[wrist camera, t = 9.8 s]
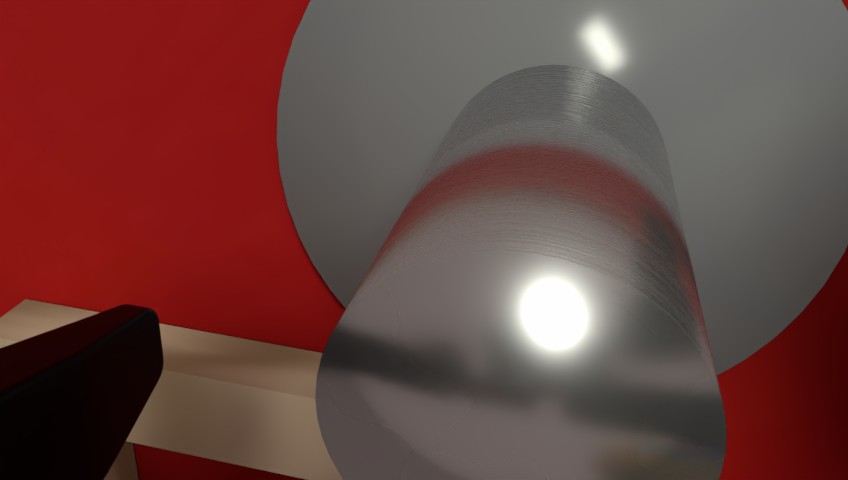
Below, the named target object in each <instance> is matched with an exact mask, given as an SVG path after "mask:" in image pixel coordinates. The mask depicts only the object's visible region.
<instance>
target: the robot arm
mask: <svg viewBox="0 0 848 480" xmlns="http://www.w3.org/2000/svg"><path fill="white" fill-rule="evenodd" d="M163 365H164V357H163V349H162V341H161V333H160V325H159V319H158V316H157V314H156V312H155V311H154V310H152V309H151V308H146V307H140V306H135V305H128V304H125V305H120V306H117V307H115V308H112V309H109V310H106V311H103V312H101V313H98V314H95V315H92V316H89V317H87V318H84V319H81V320H78V321H75V322H73V323H70V324H67V325H64V326H61V327H59V328H56V329H53V330H50V331H47V332H45V333H42V334H39V335H36V336H33V337H31V338H28V339H25V340H22V341H19V342H16V343H14V344H11V345H8V346H5V347H2V348H0V480H104V478H105V477H106V475H107V474H108V472H109V470H110V469H111V467H112V465H113V463H114V462H115V460H116V458H117V456H118V455H119V453H120V451H121V449H122V447H123V445H124V444H125V442H126V440H127V438H128V436H129V434H130V433H131V431H132V429H133V427H134V425H135V423H136V422H137V420H138V418H139V416H140V414H141V412H142V411H143V409H144V407H145V405H146V403H147V401H148V400H149V398H150V396H151V394H152V392H153V390H154V388H155V387H156V385H157V383H158V381H159V379H160V377H161V374H162V371H163Z"/></svg>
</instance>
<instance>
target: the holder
mask: <svg viewBox="0 0 848 480" xmlns="http://www.w3.org/2000/svg"><path fill="white" fill-rule="evenodd" d="M98 313H99V312H94V311H88V310H83V309H77V308H72V307H66V306H61V305H55V304H50V303H44V302H39V301H33V300H28V299H25V300H24V301H22V302H21V303H20V304H18V305H17V306H16V307H14V308H13V309H12V310H10V311H9V312H8V313H6V314H5V315H4V316H2V317H1V318H0V348H2V347H5V346H8V345H11V344H14V343H16V342H19V341H22V340H25V339H28V338H31V337H33V336H36V335H39V334H42V333H45V332H47V331H50V330H53V329H56V328H59V327H61V326H64V325H67V324H70V323H73V322H75V321H78V320H81V319H84V318H87V317H89V316H92V315H95V314H98ZM159 325H160V333H161V341H162V349H163V357H164V365H163V371H162V374H161V377H160V379H159V381H158V383H157V385H156V387H155V388H154V390H153V392H152V394H151V396H150V398H149V400H148V401H147V403H146V405H145V407H144V409H143V411H142V412H141V414H140V416H139V418H138V420H137V422H136V423H135V425H134V427H133V429H132V431H131V433H130V434H129V436H128V438H127V440H126V442H125V444H124V445H123V447H122V449H121V451H120V453H119V455H118V456H117V458H116V460H115V462H114V463H113V465H112V467H111V469H110V470H109V472H108V474H107V475H106V477H105V478H104V480H139V478H138V472H137V466H136V460H135V453H134V447H133V443H136V444H141V445H146V446H151V447H155V448H160V449H165V450H169V451H174V452H179V453H184V454H188V455H193V456H198V457H202V458H207V459H212V460H217V461H221V462H226V463H231V464H235V465H240V466H245V467H250V468H254V469H259V470H264V471H268V472H273V473H278V474H283V475H287V476H292V477H297V478H301V479H306V480H343V478H342V477H341V475H340V474H339V472H338V470H337V469H336V467H335V465H334V463H333V461H332V460H331V458H330V456H329V454H328V451H327V449H326V446H325V443H324V441H323V438H322V435H321V431H320V427H319V423H318V419H317V411H316V400H315V393H316V379H317V373H318V369H319V365H320V360H321V357H322V354H323V353H319V352H314V351H308V350H303V349H297V348H292V347H286V346H281V345H275V344H270V343H264V342H259V341H253V340H248V339H242V338H237V337H231V336H226V335H220V334H215V333H209V332H204V331H198V330H193V329H187V328H182V327H176V326H171V325H165V324H160V323H159Z"/></svg>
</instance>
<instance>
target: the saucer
mask: <svg viewBox="0 0 848 480" xmlns="http://www.w3.org/2000/svg"><path fill="white" fill-rule="evenodd" d="M543 65H568V66H574V67H580V68H585V69H588V70H591V71H594V72H597V73H600V74H602V75H604V76H606V77H608V78H611V79H613V80H614V81H616V82H617V83H619V84H620V85H622V86H624V87H625V88H626V89H628V90H629V91H630V92H631V93H632V94H633V95H635V96H636V97H637V98H638V99H639V100H640V101H641V103H642V104H643V105H644V106H645V107H646V108H647V109H648V111H649V112H650V114H651V115H652V117H653V119H654V120H655V122H656V124H657V126H658V128H659V130H660V132H661V134H662V137H663V141H664V144H665V148H666V152H667V156H668V160H669V165H670V169H671V174H672V178H673V183H674V187H675V192H676V196H677V201H678V205H679V210H680V214H681V219H682V223H683V228H684V232H685V236H686V241H687V245H688V250H689V254H690V259H691V263H692V268H693V272H694V277H695V281H696V286H697V290H698V295H699V299H700V304H701V308H702V312H703V317H704V321H705V326H706V330H707V335H708V339H709V344H710V348H711V353H712V357H713V362H714V366H715V371H716V375H719V374H720V373H722V372H724V371H726V370H728V369H729V368H731V367H733V366H735V365H736V364H738V363H740V362H742V361H743V360H745V359H747V358H748V357H749V356H751V355H752V354H753V353H755V352H756V351H758V350H759V349H760V348H762V347H763V346H764V345H766V344H767V343H768V342H770V341H771V340H773V339H774V338H775V337H776V336H777V335H778V334H779V333H780V332H781V331H783V330H784V329H785V328H786V327H787V326H788V325H789V324H790V323H791V322H792V321H793V320H794V319H795V318H796V317H797V316H798V315H800V314H801V312H802V311H803V310H804V309H805V308H806V306H807V305H808V304H809V303H810V302H811V300H812V299H813V298H814V297H815V295H816V294H817V293H818V292H819V291H820V289H821V288H822V287H823V286H824V284H825V283H826V281H827V280H828V278H829V276H830V275H831V273H832V272H833V270H834V268H835V267H836V265H837V264H838V262H839V260H840V259H841V257H842V256H843V254H844V252H845V250H846V248H847V245H848V11H847V9H846V7H845V6H844V4H843V2H842V0H311V1H310V3H309V5H308V7H307V9H306V12H305V14H304V16H303V18H302V20H301V22H300V25H299V27H298V29H297V31H296V33H295V35H294V38H293V41H292V45H291V48H290V51H289V55H288V58H287V61H286V64H285V68H284V71H283V77H282V83H281V89H280V95H279V102H278V116H277V147H278V157H279V167H280V175H281V179H282V183H283V188H284V192H285V196H286V201H287V205H288V208H289V211H290V213H291V216H292V219H293V222H294V224H295V227H296V230H297V233H298V235H299V237H300V239H301V241H302V243H303V245H304V247H305V249H306V251H307V253H308V255H309V257H310V259H311V261H312V263H313V265H314V266H315V268H316V269H317V271H318V272H319V274H320V275H321V277H322V278H323V280H324V281H325V283H326V284H327V286H328V287H329V289H330V290H331V292H332V293H333V294H334V295H335V296H336V298H337V299H338V300H339V301H340V302H341V304H342V305H343V306H344V307H345V308H347V307H348V305H349V303H350V301H351V300H352V298H353V296H354V294H355V293H356V291H357V289H358V287H359V286H360V284H361V282H362V281H363V279H364V277H365V275H366V274H367V272H368V270H369V268H370V267H371V265H372V263H373V262H374V260H375V258H376V256H377V255H378V253H379V251H380V249H381V248H382V246H383V244H384V243H385V241H386V239H387V237H388V236H389V234H390V232H391V230H392V229H393V227H394V225H395V224H396V222H397V220H398V218H399V217H400V215H401V213H402V211H403V210H404V208H405V206H406V205H407V203H408V201H409V199H410V198H411V196H412V194H413V192H414V191H415V189H416V187H417V186H418V184H419V182H420V180H421V179H422V177H423V175H424V173H425V172H426V170H427V168H428V166H429V165H430V163H431V161H432V160H433V158H434V156H435V154H436V153H437V151H438V149H439V147H440V146H441V144H442V142H443V141H444V139H445V137H446V135H447V134H448V132H449V130H450V128H451V127H452V125H453V123H454V122H455V120H456V118H457V117H458V115H459V114H460V112H461V110H462V109H463V108H464V107H465V106H466V104H467V103H468V102H469V101H470V100H471V99H472V98H473V97H474V96H475V95H476V94H477V93H478V92H479V91H481V90H482V89H483V88H485V87H486V86H488V85H489V84H490V83H492V82H493V81H495V80H497V79H499V78H501V77H503V76H505V75H507V74H510V73H513V72H515V71H518V70H521V69H525V68H530V67H534V66H543Z"/></svg>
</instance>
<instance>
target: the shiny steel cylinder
mask: <svg viewBox="0 0 848 480" xmlns="http://www.w3.org/2000/svg"><path fill="white" fill-rule="evenodd" d="M315 400H316V411H317V419H318V423H319V427H320V431H321V435H322V438H323V441H324V443H325V446H326V449H327V451H328V454H329V456H330V458H331V460H332V461H333V463H334V465H335V467H336V469H337V470H338V472H339V474H340V475H341V477H342V478H343V480H718V479H719V477H720V475H721V471H722V466H723V462H724V458H725V453H726V435H727V429H726V421H725V413H724V406H723V402H722V397H721V393H720V388H719V384H718V380H717V375H716V371H715V366H714V362H713V357H712V353H711V348H710V344H709V339H708V335H707V330H706V326H705V321H704V317H703V312H702V308H701V304H700V299H699V295H698V290H697V286H696V281H695V277H694V272H693V268H692V263H691V259H690V254H689V250H688V245H687V241H686V236H685V232H684V228H683V223H682V219H681V214H680V210H679V205H678V201H677V196H676V192H675V187H674V183H673V178H672V174H671V169H670V165H669V160H668V156H667V152H666V148H665V144H664V141H663V137H662V134H661V132H660V130H659V128H658V126H657V124H656V122H655V120H654V119H653V117H652V115H651V114H650V112H649V111H648V109H647V108H646V107H645V106H644V105H643V104H642V103H641V101H640V100H639V99H638V98H637V97H636V96H635V95H633V94H632V93H631V92H630V91H629V90H628V89H626V88H625V87H624V86H622V85H620V84H619V83H617V82H616V81H614V80H613V79H611V78H608V77H606V76H604V75H602V74H600V73H597V72H594V71H591V70H588V69H585V68H580V67H574V66H568V65H543V66H534V67H530V68H525V69H521V70H518V71H515V72H513V73H510V74H507V75H505V76H503V77H501V78H499V79H497V80H495V81H493V82H492V83H490V84H489V85H488V86H486V87H485V88H483V89H482V90H481V91H479V92H478V93H477V94H476V95H475V96H474V97H473V98H472V99H471V100H470V101H469V102H468V103H467V104H466V106H465V107H464V108H463V109H462V110H461V112H460V114H459V115H458V117H457V118H456V120H455V122H454V123H453V125H452V127H451V128H450V130H449V132H448V134H447V135H446V137H445V139H444V141H443V142H442V144H441V146H440V147H439V149H438V151H437V153H436V154H435V156H434V158H433V160H432V161H431V163H430V165H429V166H428V168H427V170H426V172H425V173H424V175H423V177H422V179H421V180H420V182H419V184H418V186H417V187H416V189H415V191H414V192H413V194H412V196H411V198H410V199H409V201H408V203H407V205H406V206H405V208H404V210H403V211H402V213H401V215H400V217H399V218H398V220H397V222H396V224H395V225H394V227H393V229H392V230H391V232H390V234H389V236H388V237H387V239H386V241H385V243H384V244H383V246H382V248H381V249H380V251H379V253H378V255H377V256H376V258H375V260H374V262H373V263H372V265H371V267H370V268H369V270H368V272H367V274H366V275H365V277H364V279H363V281H362V282H361V284H360V286H359V287H358V289H357V291H356V293H355V294H354V296H353V298H352V300H351V301H350V303H349V305H348V307H347V308H346V310H345V312H344V313H343V315H342V317H341V319H340V320H339V322H338V324H337V326H336V327H335V329H334V331H333V332H332V334H331V336H330V338H329V340H328V342H327V345H326V347H325V349H324V352H323V354H322V357H321V360H320V365H319V369H318V373H317V379H316V393H315Z"/></svg>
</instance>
